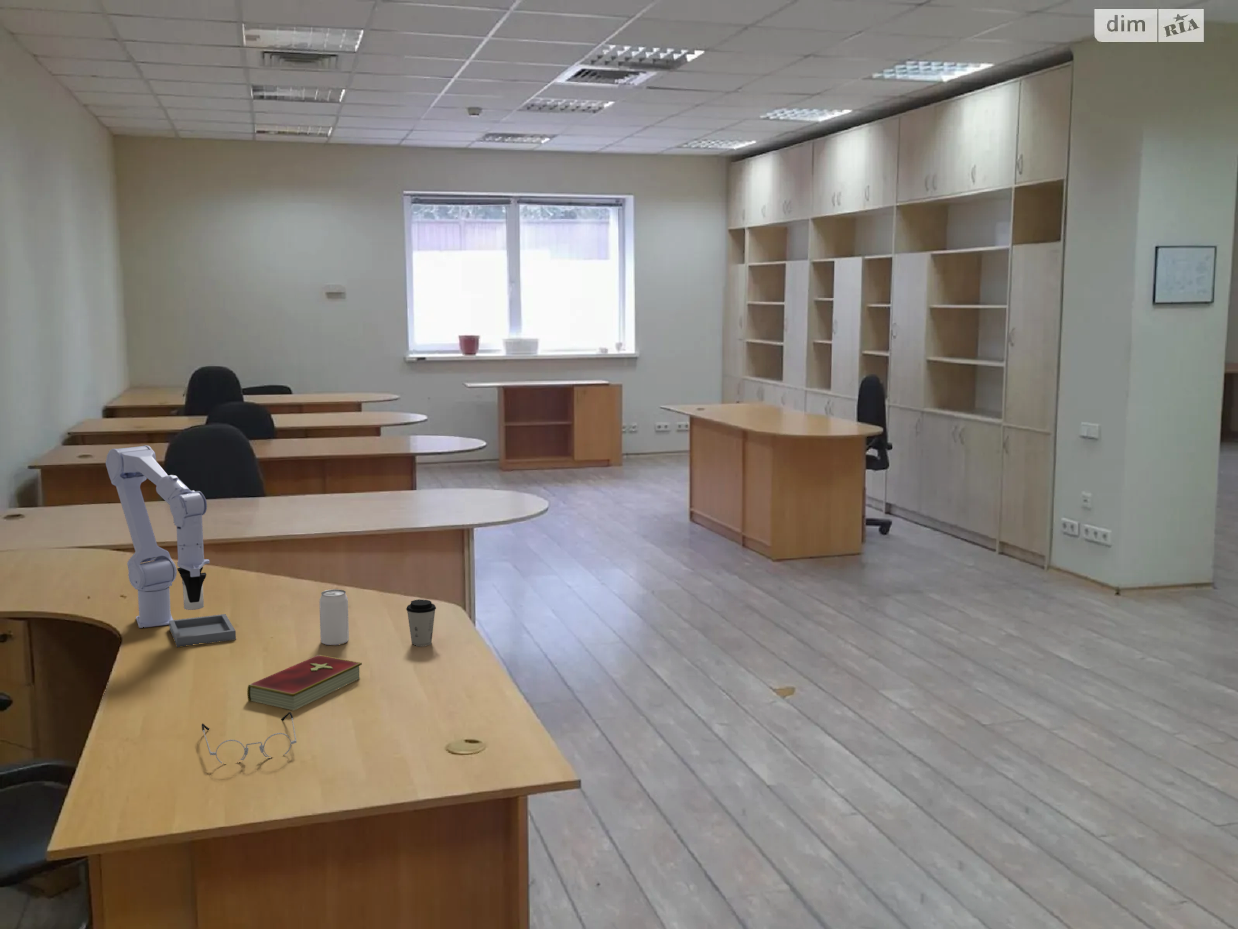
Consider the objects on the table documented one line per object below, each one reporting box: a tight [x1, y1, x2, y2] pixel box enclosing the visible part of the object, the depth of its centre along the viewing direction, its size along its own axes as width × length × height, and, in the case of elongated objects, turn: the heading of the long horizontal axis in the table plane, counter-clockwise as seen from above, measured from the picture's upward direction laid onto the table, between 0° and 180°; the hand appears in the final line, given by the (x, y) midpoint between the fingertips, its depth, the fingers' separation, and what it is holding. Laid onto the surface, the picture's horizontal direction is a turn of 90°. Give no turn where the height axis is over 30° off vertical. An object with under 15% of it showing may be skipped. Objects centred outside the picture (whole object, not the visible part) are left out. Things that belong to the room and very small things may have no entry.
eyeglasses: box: [201, 711, 297, 764], centre depth 197 cm, size 16×19×5 cm
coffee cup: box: [405, 599, 437, 647], centre depth 254 cm, size 7×7×10 cm
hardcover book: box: [246, 654, 363, 711], centre depth 224 cm, size 12×21×4 cm, turn 155°
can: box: [319, 588, 350, 646], centre depth 254 cm, size 6×6×12 cm
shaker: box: [181, 578, 205, 611], centre depth 256 cm, size 5×5×7 cm
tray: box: [168, 613, 237, 648], centre depth 259 cm, size 15×13×2 cm
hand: (193, 599), depth 257 cm, fingers closed on shaker, 4 cm apart
